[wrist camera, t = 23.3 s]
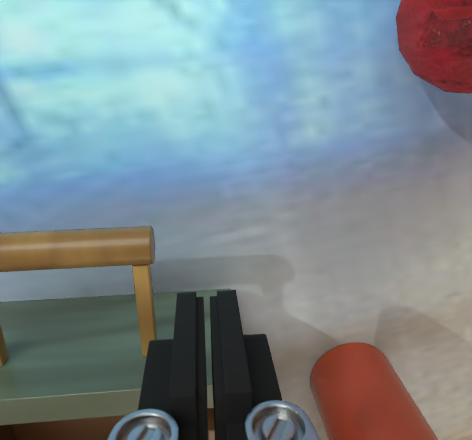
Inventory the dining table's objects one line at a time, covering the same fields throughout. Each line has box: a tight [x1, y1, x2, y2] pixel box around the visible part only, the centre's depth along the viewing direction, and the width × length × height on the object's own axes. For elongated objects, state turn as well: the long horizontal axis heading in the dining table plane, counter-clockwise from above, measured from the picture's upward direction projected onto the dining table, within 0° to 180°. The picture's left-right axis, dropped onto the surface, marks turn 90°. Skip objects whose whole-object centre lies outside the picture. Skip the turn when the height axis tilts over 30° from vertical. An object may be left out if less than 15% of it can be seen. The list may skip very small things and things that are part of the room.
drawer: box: [0, 226, 231, 440], centre depth 20 cm, size 21×13×7 cm, turn 1°
